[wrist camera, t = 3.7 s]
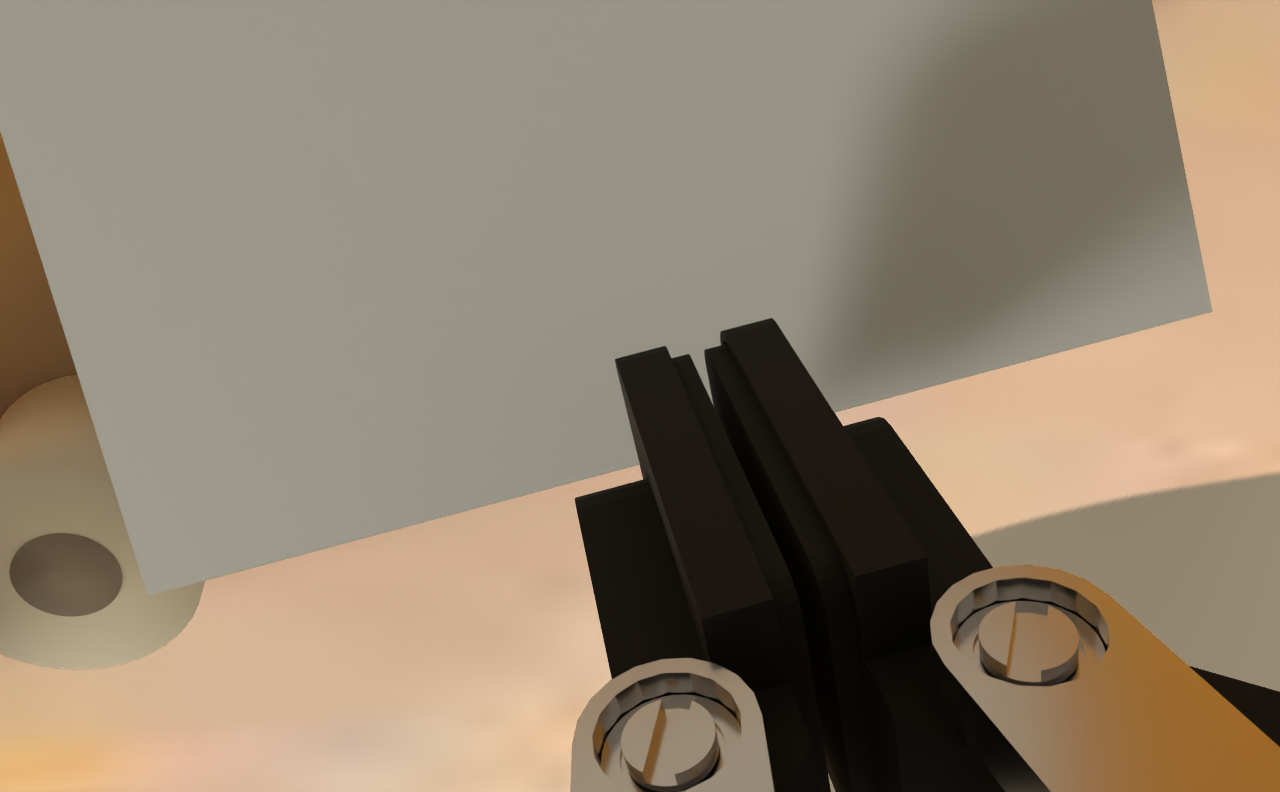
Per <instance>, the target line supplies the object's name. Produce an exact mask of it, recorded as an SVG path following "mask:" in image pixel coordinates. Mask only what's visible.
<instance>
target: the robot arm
mask: <svg viewBox="0 0 1280 792" xmlns="http://www.w3.org/2000/svg"><path fill="white" fill-rule="evenodd" d="M720 343H721V345H720V346H717V347H713V348H709V349H705V350H704V357H705V363H706V369H707V374H708V379H709V384H710V390H711V395H712V400H713V404H712V402H711V399H710V397H709V395H708V393H707V391H706V389H705V386H704V384H703V382H702V380H701V378H700V376H699V373H698V371H697V369H696V367H695V365H694V362H693V360H692V358H691V356H690V354H686V355H682V356H678V357H675V358H671V356H670V354H669V351H668V349H667V347H666V346H662V347H658V348H654V349H651V350H647V351H643V352H639V353H635V354H632V355H628V356H624V357H620V358H616V359H615V364H616V368H617V373H618V377H619V381H620V385H621V389H622V394H623V398H624V402H625V406H626V410H627V414H628V418H629V422H630V427H631V431H632V435H633V439H634V443H635V447H636V451H637V455H638V460H639V464H640V468H641V472H642V476H643V480H640V481H637V482H633V483H629V484H625V485H622V486H618V487H614V488H610V489H607V490H603V491H599V492H595V493H592V494H588V495H584V496H580V497H577V498H575V503H576V508H577V513H578V518H579V523H580V528H581V533H582V537H583V542H584V547H585V552H586V557H587V561H588V566H589V571H590V576H591V581H592V585H593V590H594V595H595V600H596V605H597V609H598V614H599V619H600V624H601V629H602V633H603V638H604V643H605V648H606V653H607V657H608V662H609V667H610V672H611V677H612V680H610V681H609V682H608V683H607V684H606V685H605V686H604V687H603V688H602V689H601V690H600V691H599V692H597V693H596V694H595V695H594V696H593V697H592V698H591V699H590V701H589V702H588V704H587V706H586V707H585V709H584V711H583V712H582V714H581V716H580V717H579V719H578V721H577V725H576V729H575V734H574V739H573V743H572V763H571V792H831V790H830V784H829V778H828V774H829V776H830V779H831V781H832V784H833V786H834V788H835V791H836V792H1280V692H1279V691H1275V690H1271V689H1268V688H1265V687H1261V686H1257V685H1254V684H1250V683H1247V682H1243V681H1240V680H1236V679H1233V678H1229V677H1225V676H1222V675H1219V674H1215V673H1212V672H1208V671H1205V670H1201V669H1198V668H1194V667H1190V666H1188V665H1187V664H1186V663H1185V662H1183V660H1181V659H1180V658H1179V657H1178V656H1177V655H1176V654H1175V653H1174V652H1172V651H1171V650H1170V649H1169V648H1168V647H1167V646H1166V645H1164V644H1163V643H1162V642H1161V641H1160V640H1159V639H1158V638H1156V637H1155V636H1154V635H1153V634H1152V633H1151V632H1150V631H1149V630H1148V629H1147V628H1145V627H1144V626H1143V625H1142V624H1141V623H1140V622H1139V621H1137V620H1136V619H1135V618H1134V617H1133V616H1132V615H1131V614H1130V613H1129V612H1128V611H1126V610H1125V609H1124V608H1123V607H1122V606H1121V605H1120V604H1119V603H1117V602H1116V601H1115V600H1114V599H1113V598H1112V597H1111V596H1110V595H1108V594H1106V593H1105V592H1104V591H1102V590H1101V589H1099V588H1098V587H1096V586H1095V585H1093V584H1092V583H1090V582H1089V581H1087V580H1086V579H1083V578H1080V577H1078V576H1075V575H1072V574H1070V573H1067V572H1064V571H1062V570H1059V569H1053V568H1047V567H1040V566H1034V565H1014V566H999V567H995V568H993V567H992V566H991V564H990V563H989V561H988V560H987V559H986V557H985V556H984V555H983V554H982V552H981V550H980V549H979V548H978V546H977V545H976V543H975V542H974V541H973V539H972V538H971V536H970V535H969V534H968V532H967V531H966V529H965V528H964V527H963V525H962V524H961V522H960V521H959V520H958V518H957V517H956V516H955V514H954V513H953V511H952V510H951V509H950V507H949V506H948V504H947V503H946V502H945V500H944V499H943V497H942V496H941V495H940V493H939V492H938V490H937V489H936V488H935V486H934V485H933V484H932V482H931V481H930V479H929V478H928V477H927V475H926V474H925V472H924V471H923V470H922V468H921V467H920V465H919V464H918V463H917V461H916V460H915V458H914V457H913V456H912V454H911V453H910V452H909V450H908V449H907V447H906V446H905V445H904V443H903V442H902V440H901V439H900V438H899V436H898V435H897V433H896V432H895V431H894V429H893V428H892V426H891V425H890V424H889V423H888V422H887V421H886V420H885V419H884V418H881V417H876V418H872V419H869V420H865V421H861V422H857V423H854V424H850V425H846V426H843V425H842V424H841V422H840V421H839V419H838V417H837V416H836V414H835V413H834V411H833V410H832V408H831V407H830V405H829V403H828V402H827V400H826V399H825V397H824V396H823V394H822V393H821V391H820V390H819V388H818V386H817V385H816V383H815V382H814V380H813V379H812V377H811V376H810V374H809V372H808V371H807V369H806V368H805V366H804V365H803V363H802V362H801V360H800V359H799V357H798V355H797V354H796V352H795V351H794V349H793V348H792V346H791V345H790V343H789V341H788V340H787V338H786V337H785V335H784V334H783V332H782V331H781V329H780V327H779V326H778V324H777V323H776V321H775V320H774V319H773V318H769V319H765V320H762V321H758V322H754V323H750V324H746V325H742V326H739V327H735V328H731V329H727V330H723V331H721V332H720ZM713 405H714V406H713Z"/></svg>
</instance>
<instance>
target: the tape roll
mask: <svg viewBox="0 0 1280 792" xmlns="http://www.w3.org/2000/svg"><path fill="white" fill-rule="evenodd" d="M204 582H205V581H202V582H198V583H194V584H190V585H187V586H183V587H179V588H175V589H172V590H168V591H164V592H160V593H157V594H153V595H149V596H148V595H147V591H146V588H145V585H144V582H143V579H142V576H141V573H140V569H139V566H138V563H137V560H136V557H135V554H134V551H133V547H132V544H131V541H130V538H129V535H128V532H127V528H126V525H125V522H124V519H123V516H122V513H121V510H120V506H119V503H118V500H117V497H116V494H115V491H114V488H113V484H112V481H111V478H110V475H109V472H108V469H107V466H106V462H105V459H104V456H103V453H102V450H101V447H100V444H99V440H98V437H97V434H96V431H95V428H94V425H93V422H92V418H91V415H90V412H89V409H88V406H87V403H86V400H85V396H84V393H83V390H82V387H81V384H80V381H79V378H78V374H76V375H70V376H65V377H61V378H57V379H54V380H51V381H48V382H45V383H43V384H41V385H39V386H37V387H35V388H33V389H31V390H30V391H28V392H27V393H25V394H24V395H22V396H21V397H19V398H18V399H17V400H16V401H15V402H14V403H13V404H12V405H11V406H10V407H9V408H8V409H7V410H6V412H5V413H4V414H3V415H2V417H1V418H0V654H2V655H4V656H7V657H10V658H13V659H16V660H18V661H21V662H25V663H29V664H33V665H37V666H43V667H49V668H56V669H70V670H84V669H98V668H107V667H112V666H116V665H121V664H125V663H128V662H131V661H134V660H137V659H140V658H142V657H144V656H147V655H149V654H151V653H153V652H155V651H156V650H158V649H160V648H161V647H163V646H165V645H166V644H167V643H169V642H170V641H171V640H172V639H174V638H175V637H176V636H177V635H178V634H179V633H180V632H181V631H182V630H183V629H184V628H185V627H186V625H187V624H188V622H189V621H190V620H191V618H192V617H193V615H194V613H195V611H196V609H197V607H198V604H199V601H200V597H201V594H202V590H203V586H204Z"/></svg>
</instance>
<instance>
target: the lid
mask: <svg viewBox="0 0 1280 792" xmlns="http://www.w3.org/2000/svg"><path fill="white" fill-rule="evenodd" d="M0 132H1V135H2V138H3V142H4V145H5V148H6V151H7V154H8V157H9V160H10V164H11V167H12V170H13V173H14V176H15V179H16V182H17V186H18V189H19V192H20V195H21V198H22V201H23V205H24V208H25V211H26V214H27V217H28V220H29V223H30V227H31V230H32V233H33V236H34V239H35V242H36V245H37V249H38V252H39V255H40V258H41V261H42V264H43V267H44V271H45V274H46V277H47V280H48V283H49V286H50V289H51V293H52V296H53V299H54V302H55V305H56V308H57V311H58V315H59V318H60V321H61V324H62V327H63V330H64V333H65V337H66V340H67V343H68V346H69V349H70V352H71V355H72V359H73V362H74V365H75V368H76V371H77V374H78V378H79V381H80V384H81V387H82V390H83V393H84V396H85V400H86V403H87V406H88V409H89V412H90V415H91V418H92V422H93V425H94V428H95V431H96V434H97V437H98V440H99V444H100V447H101V450H102V453H103V456H104V459H105V462H106V466H107V469H108V472H109V475H110V478H111V481H112V484H113V488H114V491H115V494H116V497H117V500H118V503H119V506H120V510H121V513H122V516H123V519H124V522H125V525H126V528H127V532H128V535H129V538H130V541H131V544H132V547H133V551H134V554H135V557H136V560H137V563H138V566H139V569H140V573H141V576H142V579H143V582H144V585H145V588H146V591H147V595H148V596H149V595H153V594H157V593H160V592H164V591H168V590H172V589H175V588H179V587H183V586H187V585H190V584H194V583H198V582H202V581H205V580H209V579H213V578H217V577H220V576H224V575H228V574H232V573H235V572H239V571H243V570H247V569H250V568H254V567H258V566H262V565H265V564H269V563H273V562H277V561H280V560H284V559H288V558H292V557H295V556H299V555H303V554H306V553H310V552H314V551H318V550H321V549H325V548H329V547H333V546H336V545H340V544H344V543H348V542H351V541H355V540H359V539H363V538H366V537H370V536H374V535H378V534H381V533H385V532H389V531H393V530H396V529H400V528H404V527H408V526H411V525H415V524H419V523H423V522H426V521H430V520H434V519H438V518H441V517H445V516H449V515H453V514H456V513H460V512H464V511H467V510H471V509H475V508H479V507H482V506H486V505H490V504H494V503H497V502H501V501H505V500H509V499H512V498H516V497H520V496H524V495H527V494H531V493H535V492H539V491H542V490H546V489H550V488H554V487H557V486H561V485H565V484H569V483H572V482H576V481H580V480H584V479H587V478H591V477H595V476H599V475H602V474H606V473H610V472H613V471H617V470H621V469H625V468H628V467H632V466H636V465H640V464H639V460H638V455H637V451H636V447H635V443H634V439H633V435H632V431H631V427H630V422H629V418H628V414H627V410H626V406H625V402H624V398H623V394H622V389H621V385H620V381H619V377H618V373H617V368H616V364H615V359H616V358H620V357H624V356H628V355H632V354H635V353H639V352H643V351H647V350H651V349H654V348H658V347H662V346H666V347H667V349H668V351H669V354H670V356H671V358H675V357H678V356H682V355H686V354H690V356H691V358H692V360H693V362H694V365H695V367H696V369H697V371H698V373H699V376H700V378H701V380H702V382H703V384H704V386H705V389H706V391H707V393H708V395H709V397H710V399H711V402H712V404H713V400H712V395H711V390H710V384H709V379H708V374H707V369H706V363H705V357H704V350H705V349H709V348H713V347H717V346H720V345H721V343H720V332H721V331H723V330H727V329H731V328H735V327H739V326H742V325H746V324H750V323H754V322H758V321H762V320H765V319H769V318H773V319H774V320H775V321H776V323H777V324H778V326H779V327H780V329H781V331H782V332H783V334H784V335H785V337H786V338H787V340H788V341H789V343H790V345H791V346H792V348H793V349H794V351H795V352H796V354H797V355H798V357H799V359H800V360H801V362H802V363H803V365H804V366H805V368H806V369H807V371H808V372H809V374H810V376H811V377H812V379H813V380H814V382H815V383H816V385H817V386H818V388H819V390H820V391H821V393H822V394H823V396H824V397H825V399H826V400H827V402H828V403H829V405H830V407H831V408H832V410H833V411H834V412H838V411H842V410H846V409H849V408H853V407H857V406H861V405H864V404H868V403H872V402H876V401H879V400H883V399H887V398H891V397H894V396H898V395H902V394H906V393H909V392H913V391H917V390H920V389H924V388H928V387H932V386H935V385H939V384H943V383H947V382H950V381H954V380H958V379H962V378H965V377H969V376H973V375H977V374H980V373H984V372H988V371H992V370H995V369H999V368H1003V367H1007V366H1010V365H1014V364H1018V363H1022V362H1025V361H1029V360H1033V359H1037V358H1040V357H1044V356H1048V355H1052V354H1055V353H1059V352H1063V351H1066V350H1070V349H1074V348H1078V347H1081V346H1085V345H1089V344H1093V343H1096V342H1100V341H1104V340H1108V339H1111V338H1115V337H1119V336H1123V335H1126V334H1130V333H1134V332H1138V331H1141V330H1145V329H1149V328H1153V327H1156V326H1160V325H1164V324H1168V323H1171V322H1175V321H1179V320H1183V319H1186V318H1190V317H1194V316H1198V315H1201V314H1205V313H1209V312H1212V308H1211V303H1210V298H1209V292H1208V287H1207V282H1206V277H1205V272H1204V267H1203V262H1202V256H1201V251H1200V246H1199V241H1198V236H1197V231H1196V226H1195V221H1194V215H1193V210H1192V205H1191V200H1190V195H1189V190H1188V185H1187V179H1186V174H1185V169H1184V164H1183V159H1182V154H1181V149H1180V144H1179V138H1178V133H1177V128H1176V123H1175V118H1174V113H1173V108H1172V102H1171V97H1170V92H1169V87H1168V82H1167V77H1166V72H1165V67H1164V61H1163V56H1162V51H1161V46H1160V41H1159V36H1158V31H1157V25H1156V20H1155V15H1154V10H1153V5H1152V0H0ZM713 406H714V405H713Z"/></svg>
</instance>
